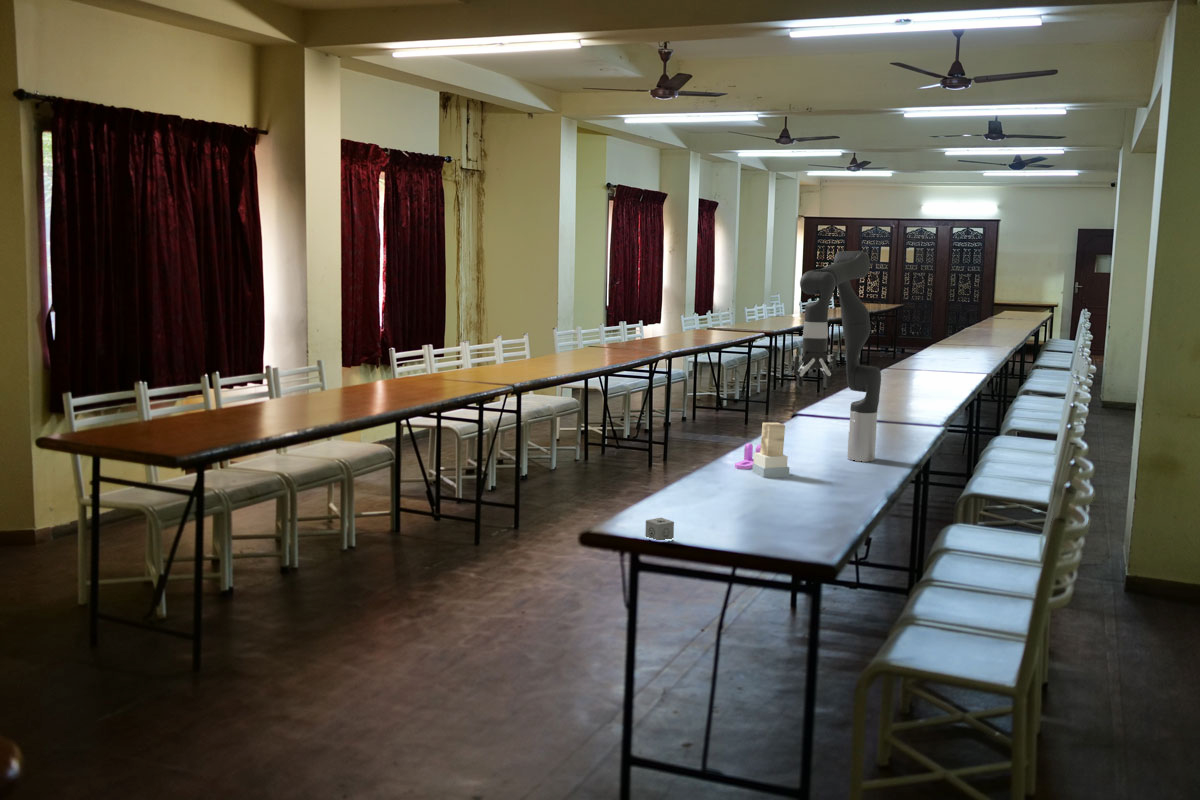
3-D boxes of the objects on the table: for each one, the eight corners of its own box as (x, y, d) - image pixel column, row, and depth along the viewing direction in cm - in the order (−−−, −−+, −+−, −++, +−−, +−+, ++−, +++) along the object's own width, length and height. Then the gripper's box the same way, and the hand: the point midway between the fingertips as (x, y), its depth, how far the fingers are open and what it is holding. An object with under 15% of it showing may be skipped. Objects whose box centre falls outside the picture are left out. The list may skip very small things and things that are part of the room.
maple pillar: (760, 452, 344) (762, 422, 343) (775, 452, 346) (777, 422, 344) (767, 455, 339) (769, 425, 338) (782, 455, 341) (785, 425, 339)
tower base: (752, 473, 346) (752, 462, 346) (777, 472, 349) (777, 461, 348) (763, 479, 338) (763, 468, 337) (789, 477, 340) (789, 467, 340)
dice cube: (658, 544, 259) (658, 524, 259) (645, 539, 263) (645, 520, 263) (673, 541, 262) (673, 521, 262) (660, 536, 266) (661, 517, 266)
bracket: (748, 462, 363) (749, 442, 362) (763, 464, 360) (764, 444, 359) (732, 468, 352) (732, 448, 351) (747, 470, 349) (747, 450, 348)
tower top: (753, 463, 345) (754, 452, 345) (775, 462, 348) (775, 451, 347) (765, 468, 338) (765, 457, 337) (787, 466, 340) (787, 456, 340)
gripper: (830, 335, 332) (828, 386, 334) (789, 335, 328) (787, 386, 331) (841, 337, 325) (839, 389, 327) (799, 337, 321) (796, 389, 324)
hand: (813, 387), depth 329 cm, fingers open, 8 cm apart
